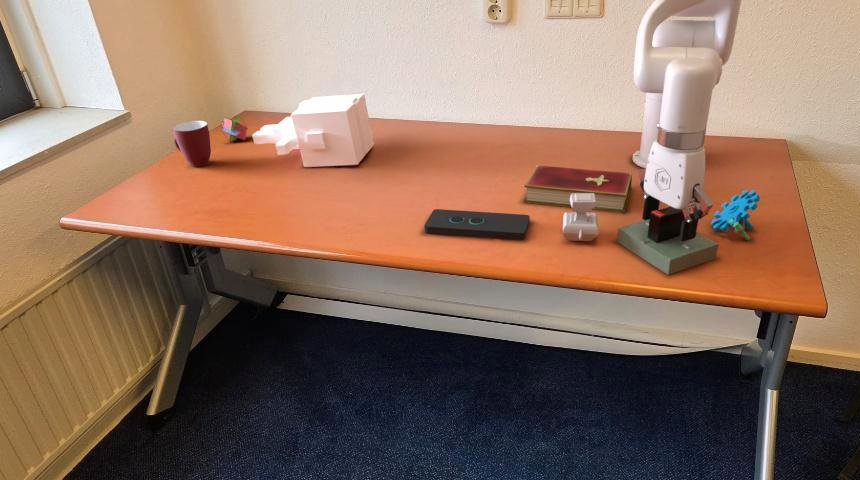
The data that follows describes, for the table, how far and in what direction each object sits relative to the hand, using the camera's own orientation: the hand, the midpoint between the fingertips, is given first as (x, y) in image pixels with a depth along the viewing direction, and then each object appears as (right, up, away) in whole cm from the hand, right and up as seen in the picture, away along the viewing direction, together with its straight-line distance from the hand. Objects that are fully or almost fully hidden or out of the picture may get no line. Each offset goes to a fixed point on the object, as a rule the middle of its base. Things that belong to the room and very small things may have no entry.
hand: (668, 228), depth 119 cm
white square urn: (-15, -1, +8) cm, 17 cm away
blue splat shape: (+15, 0, +8) cm, 17 cm away
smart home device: (-34, +1, +13) cm, 36 cm away
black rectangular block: (0, -1, +1) cm, 1 cm away
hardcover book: (-12, +9, +24) cm, 28 cm away
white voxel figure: (-75, +23, +50) cm, 93 cm away
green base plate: (0, -4, +2) cm, 4 cm away
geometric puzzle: (-99, +30, +63) cm, 121 cm away
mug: (-105, +21, +49) cm, 118 cm away
